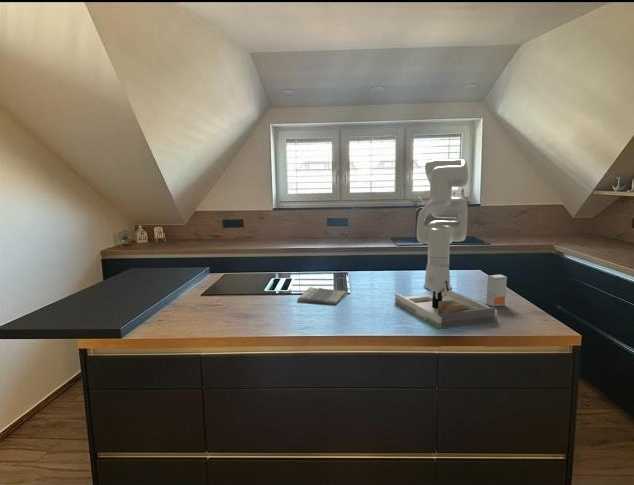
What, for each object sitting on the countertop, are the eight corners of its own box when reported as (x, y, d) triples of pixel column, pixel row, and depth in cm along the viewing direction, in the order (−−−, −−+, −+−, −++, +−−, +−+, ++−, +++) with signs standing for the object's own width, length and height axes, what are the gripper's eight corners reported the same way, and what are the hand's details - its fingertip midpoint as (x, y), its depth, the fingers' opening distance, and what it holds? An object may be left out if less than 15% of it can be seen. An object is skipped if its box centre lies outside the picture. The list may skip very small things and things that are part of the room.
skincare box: (492, 307, 165) (494, 277, 163) (485, 303, 169) (487, 275, 167) (505, 305, 167) (507, 276, 165) (498, 302, 171) (500, 274, 169)
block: (438, 314, 151) (438, 301, 150) (452, 312, 153) (452, 299, 152) (447, 319, 145) (448, 306, 144) (462, 318, 147) (462, 304, 146)
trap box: (395, 302, 173) (395, 291, 172) (445, 297, 179) (445, 285, 179) (438, 328, 142) (439, 314, 142) (496, 321, 149) (497, 307, 148)
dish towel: (337, 306, 170) (337, 299, 169) (296, 303, 176) (296, 295, 175) (348, 294, 187) (348, 287, 187) (311, 291, 193) (311, 285, 192)
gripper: (419, 257, 160) (417, 303, 163) (441, 265, 146) (439, 315, 149) (435, 256, 162) (434, 301, 165) (459, 263, 148) (457, 312, 151)
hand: (437, 307), depth 157 cm, fingers closed
